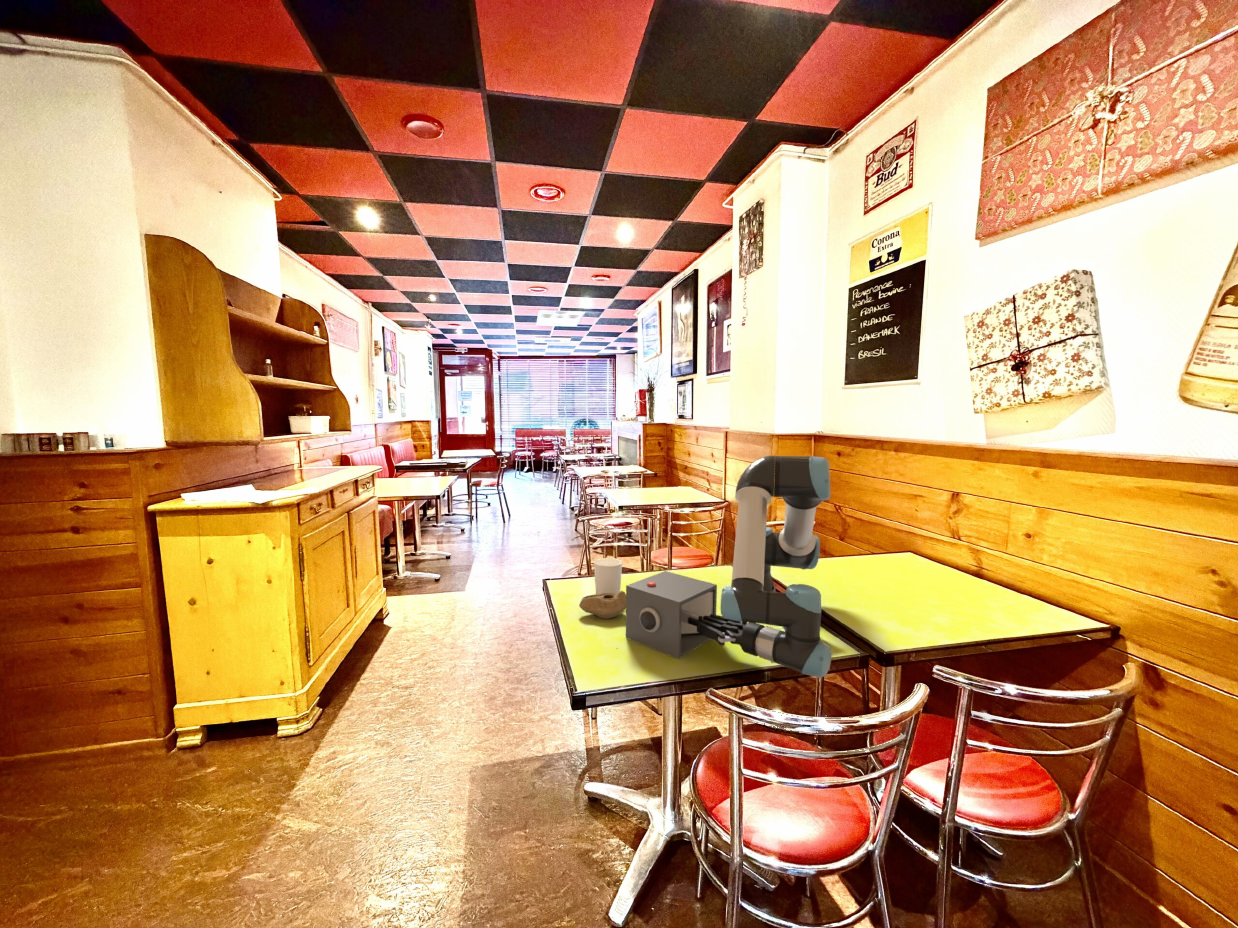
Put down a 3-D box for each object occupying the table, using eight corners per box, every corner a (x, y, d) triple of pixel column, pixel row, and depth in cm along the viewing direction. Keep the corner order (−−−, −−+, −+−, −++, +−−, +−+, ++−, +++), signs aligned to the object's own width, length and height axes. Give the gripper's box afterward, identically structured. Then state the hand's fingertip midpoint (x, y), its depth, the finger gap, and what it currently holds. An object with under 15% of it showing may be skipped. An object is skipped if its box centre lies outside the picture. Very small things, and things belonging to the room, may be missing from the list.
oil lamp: (577, 610, 154) (577, 586, 154) (623, 607, 157) (623, 583, 157) (582, 624, 144) (582, 598, 143) (631, 620, 147) (631, 595, 146)
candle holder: (618, 601, 162) (619, 566, 161) (590, 599, 164) (590, 565, 163) (624, 591, 171) (624, 558, 170) (597, 589, 173) (597, 557, 172)
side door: (711, 631, 136) (712, 591, 135) (713, 633, 134) (714, 592, 133) (658, 633, 134) (659, 592, 133) (659, 635, 133) (660, 594, 131)
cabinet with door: (664, 618, 148) (665, 568, 147) (715, 636, 136) (716, 582, 135) (621, 639, 134) (622, 584, 132) (674, 661, 122) (675, 601, 120)
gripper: (748, 666, 112) (666, 635, 128) (773, 646, 122) (694, 620, 138) (749, 635, 112) (667, 608, 127) (774, 618, 121) (694, 595, 137)
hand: (681, 614), depth 133 cm, fingers closed
